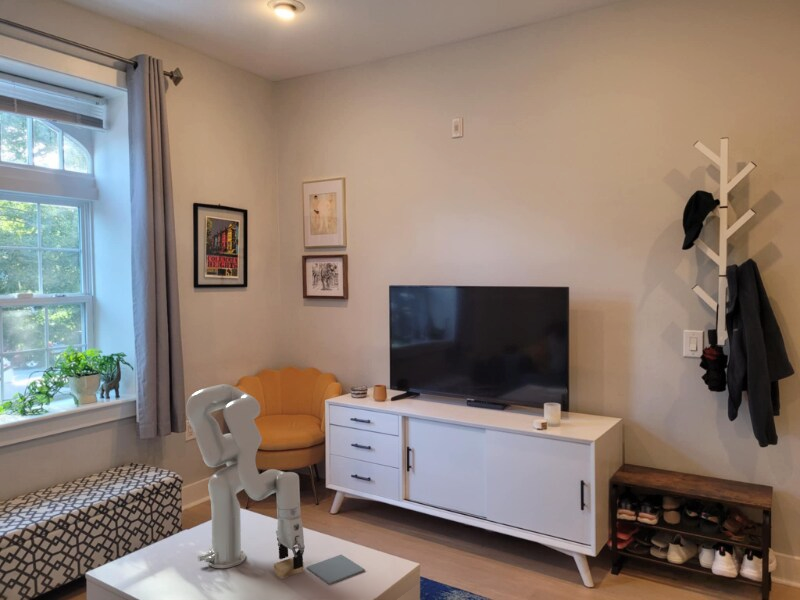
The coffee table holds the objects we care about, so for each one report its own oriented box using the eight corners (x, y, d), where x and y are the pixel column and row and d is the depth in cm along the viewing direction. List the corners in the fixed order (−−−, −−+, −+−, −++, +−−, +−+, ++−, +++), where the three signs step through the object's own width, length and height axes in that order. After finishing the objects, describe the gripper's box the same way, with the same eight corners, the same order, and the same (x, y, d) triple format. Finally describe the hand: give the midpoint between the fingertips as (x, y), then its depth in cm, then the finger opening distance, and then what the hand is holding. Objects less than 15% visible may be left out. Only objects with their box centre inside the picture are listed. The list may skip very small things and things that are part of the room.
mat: (329, 584, 184) (328, 583, 184) (306, 568, 194) (306, 566, 194) (364, 571, 192) (364, 569, 192) (341, 556, 203) (341, 554, 203)
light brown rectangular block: (281, 579, 188) (281, 569, 188) (273, 573, 192) (273, 563, 192) (303, 571, 193) (303, 562, 193) (295, 565, 197) (295, 556, 197)
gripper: (312, 515, 188) (314, 568, 188) (286, 501, 201) (288, 551, 201) (291, 521, 183) (293, 575, 183) (266, 507, 196) (268, 557, 196)
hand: (290, 562), depth 192 cm, fingers open, 9 cm apart
